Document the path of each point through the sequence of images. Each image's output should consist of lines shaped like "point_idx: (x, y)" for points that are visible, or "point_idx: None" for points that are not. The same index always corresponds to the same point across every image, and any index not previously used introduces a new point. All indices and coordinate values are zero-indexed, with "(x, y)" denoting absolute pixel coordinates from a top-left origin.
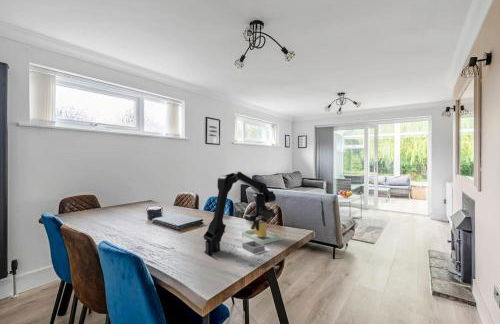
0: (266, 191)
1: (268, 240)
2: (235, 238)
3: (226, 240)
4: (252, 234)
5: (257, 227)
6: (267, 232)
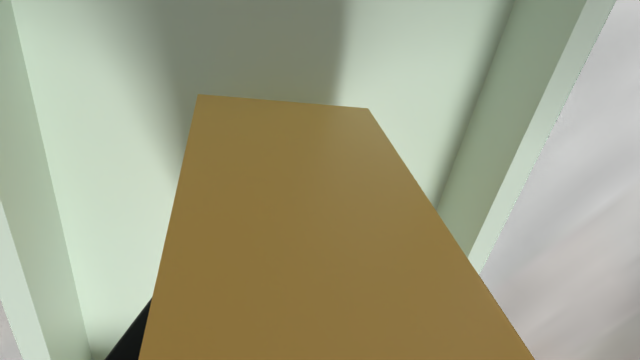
0: None
1: None
2: None
3: (579, 336)
4: None
5: None
6: (26, 234)
